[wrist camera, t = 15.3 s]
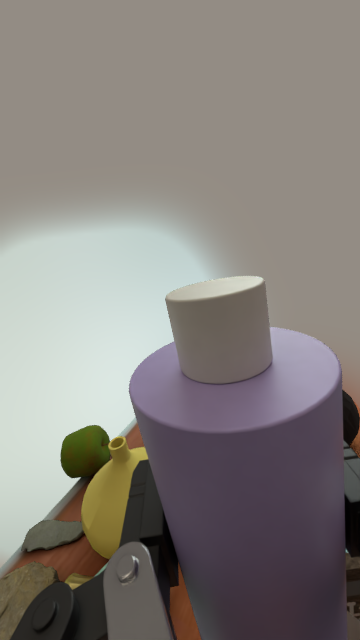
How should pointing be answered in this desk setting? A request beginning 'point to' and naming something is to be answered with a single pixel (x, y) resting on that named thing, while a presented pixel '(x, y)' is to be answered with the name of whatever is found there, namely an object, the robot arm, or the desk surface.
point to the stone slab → (21, 593)
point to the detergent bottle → (248, 464)
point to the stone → (52, 534)
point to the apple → (85, 451)
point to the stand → (353, 627)
